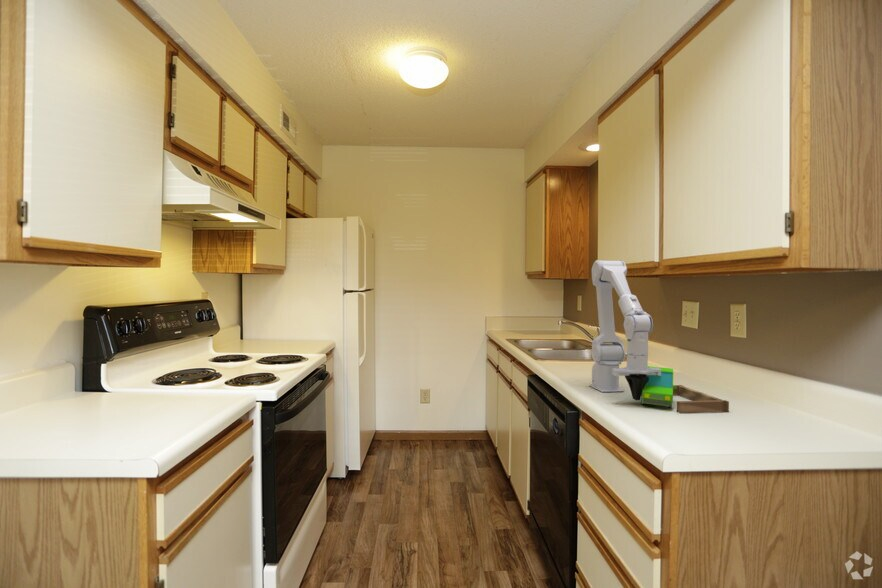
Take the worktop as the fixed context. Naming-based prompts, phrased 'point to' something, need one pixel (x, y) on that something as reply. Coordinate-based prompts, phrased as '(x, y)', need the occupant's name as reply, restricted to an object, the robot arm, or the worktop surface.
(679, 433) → the worktop surface
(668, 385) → the toy car
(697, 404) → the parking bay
